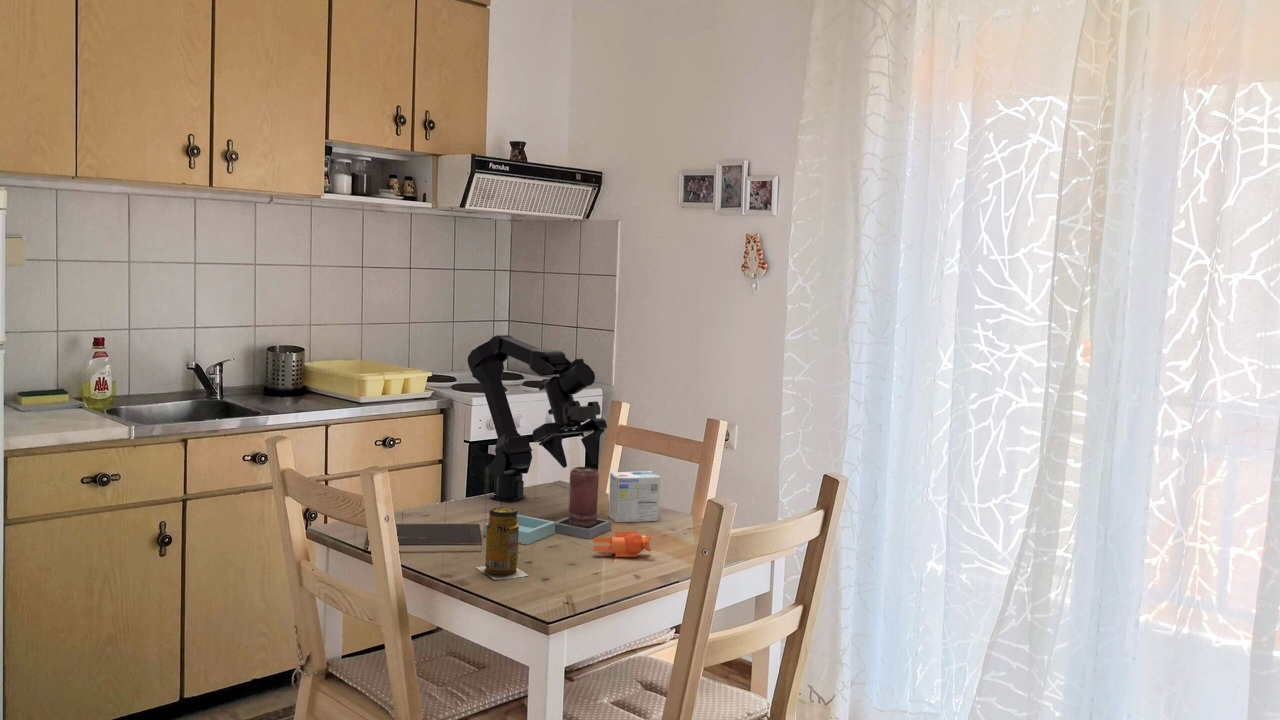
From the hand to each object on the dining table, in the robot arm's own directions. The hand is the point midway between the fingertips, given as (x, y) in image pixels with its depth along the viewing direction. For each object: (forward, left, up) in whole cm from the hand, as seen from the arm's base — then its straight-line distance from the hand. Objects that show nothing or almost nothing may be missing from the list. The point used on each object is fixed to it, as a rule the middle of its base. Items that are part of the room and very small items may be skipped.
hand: (580, 465), depth 235 cm
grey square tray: (+5, -7, -13) cm, 16 cm away
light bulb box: (+9, +10, -13) cm, 19 cm away
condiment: (+8, -42, -13) cm, 45 cm away
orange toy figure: (+21, -18, -13) cm, 31 cm away
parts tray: (-4, -18, -13) cm, 23 cm away
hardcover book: (-17, -34, -14) cm, 41 cm away
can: (+5, -7, -13) cm, 16 cm away
